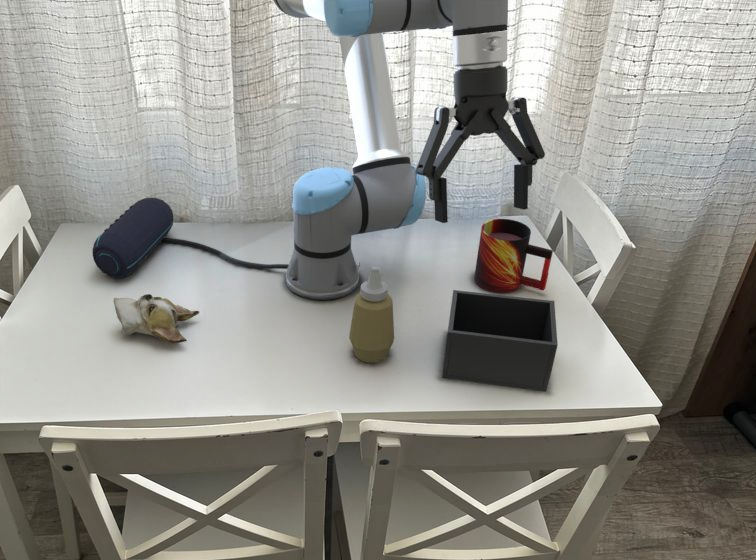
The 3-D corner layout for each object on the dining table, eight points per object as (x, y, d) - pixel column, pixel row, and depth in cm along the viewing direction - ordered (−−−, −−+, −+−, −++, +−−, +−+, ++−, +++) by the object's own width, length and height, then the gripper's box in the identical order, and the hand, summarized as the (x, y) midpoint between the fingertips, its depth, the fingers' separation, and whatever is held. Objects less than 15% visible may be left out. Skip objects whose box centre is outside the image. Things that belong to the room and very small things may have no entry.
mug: (544, 295, 146) (556, 243, 139) (475, 292, 148) (483, 239, 140) (538, 271, 154) (548, 220, 147) (472, 268, 155) (479, 217, 148)
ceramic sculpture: (122, 275, 137) (198, 284, 136) (127, 313, 142) (200, 322, 141) (102, 306, 129) (183, 316, 128) (107, 345, 134) (186, 354, 133)
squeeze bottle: (348, 340, 135) (350, 256, 124) (391, 340, 134) (397, 256, 124) (349, 367, 128) (351, 280, 117) (394, 367, 128) (401, 280, 117)
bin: (441, 377, 125) (447, 332, 119) (447, 333, 136) (453, 289, 130) (546, 391, 122) (557, 345, 116) (544, 345, 133) (554, 300, 127)
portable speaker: (142, 228, 172) (135, 189, 166) (180, 233, 170) (175, 194, 164) (89, 281, 153) (80, 239, 147) (132, 287, 151) (124, 245, 145)
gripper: (410, 75, 96) (417, 231, 104) (572, 57, 102) (567, 206, 110) (389, 76, 103) (396, 222, 111) (541, 59, 109) (538, 199, 117)
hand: (481, 214), depth 110 cm, fingers open, 13 cm apart
